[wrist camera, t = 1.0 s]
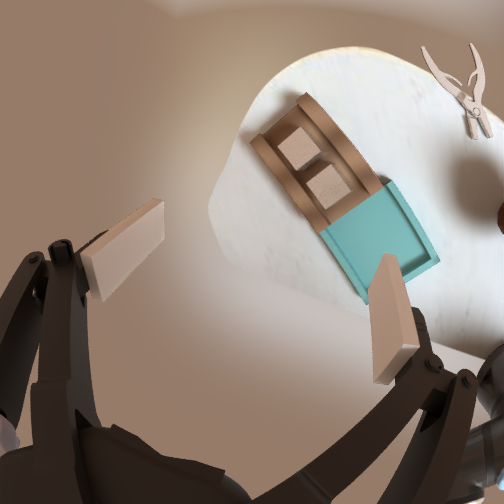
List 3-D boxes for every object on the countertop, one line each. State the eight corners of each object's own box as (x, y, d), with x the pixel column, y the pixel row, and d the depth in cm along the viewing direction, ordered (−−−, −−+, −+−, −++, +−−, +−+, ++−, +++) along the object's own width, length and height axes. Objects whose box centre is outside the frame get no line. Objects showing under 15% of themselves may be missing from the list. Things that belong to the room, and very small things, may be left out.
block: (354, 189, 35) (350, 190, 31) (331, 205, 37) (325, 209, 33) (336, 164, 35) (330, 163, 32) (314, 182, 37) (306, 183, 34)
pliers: (474, 41, 20) (509, 136, 23) (472, 45, 22) (506, 137, 24) (420, 44, 25) (455, 141, 28) (419, 48, 26) (453, 142, 29)
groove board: (383, 185, 35) (383, 187, 32) (324, 227, 41) (317, 234, 37) (314, 99, 36) (306, 92, 32) (262, 144, 42) (249, 142, 38)
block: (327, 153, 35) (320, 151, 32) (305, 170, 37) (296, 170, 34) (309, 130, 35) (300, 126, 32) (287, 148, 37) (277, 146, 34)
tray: (437, 256, 34) (440, 261, 32) (367, 299, 41) (366, 305, 39) (391, 180, 35) (392, 180, 33) (321, 229, 41) (318, 232, 39)
